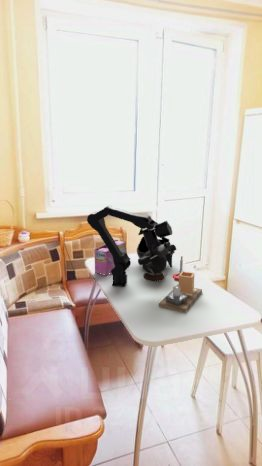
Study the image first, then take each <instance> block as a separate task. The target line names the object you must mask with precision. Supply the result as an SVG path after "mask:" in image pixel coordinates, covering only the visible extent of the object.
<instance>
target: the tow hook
mask: <svg viewBox="0 0 262 466" xmlns="http://www.w3.org/2000/svg"><path fill="white" fill-rule="evenodd" d="M183 257H184V256H180V264H179V265H180V266H179V273H174V274H172V278H173V279H174V281H179V275H180V273H181V272H182V271H183V267H184V265H183V264H184V263H183V261H184V260H183Z"/></svg>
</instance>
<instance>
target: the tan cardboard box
mask: <svg viewBox="0 0 262 466" xmlns="http://www.w3.org/2000/svg"><path fill="white" fill-rule="evenodd" d="M195 274H196V273H195V272H190V271H183V270H182V272H181V273H180V275H178V277H179V280H178V285H179V287H180V292H181V293H188V294H192V292H193V289H194V288H195Z"/></svg>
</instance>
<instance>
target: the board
mask: <svg viewBox="0 0 262 466" xmlns="http://www.w3.org/2000/svg"><path fill="white" fill-rule="evenodd" d="M176 286H179V284H177V285H176ZM202 292H203V289H202V288H201V289H200V288H198V287H197V288H196V287H194V289H193V292H192V294H188V293H185V295H186V296H187V302H185V303H183V304H182V305H180V306H176V305H173V304H171V303H168V302H166V296H168V295H169V294H171V293H173V289H172V290H171V291H170V292H169V293H168V294H166V296H165V297H163V299H162V300H160V301H159V302H158V307H160V308H164V309H169V310H170V311H171V310H173V311H177V312H180V313H184V314H185V313H187V311H188V310H189V309H190V308H191V306H192V305H193V304H194V303H195V301H196V300H197V299H198V298H199V297H200V295H201V294H202ZM180 294H183V293H181V292H180Z"/></svg>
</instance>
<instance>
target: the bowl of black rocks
mask: <svg viewBox="0 0 262 466" xmlns="http://www.w3.org/2000/svg"><path fill="white" fill-rule="evenodd" d="M158 241H160V242H161V244H162V245H163V244H165V243H167V242H168V243H169V244H170V245H171V242H170V239H169V238H168V237H167V238H166V237H163V238H158ZM146 245H147V244H146V241H145V238H144V236H142V237H141V239H140V241H139V243H138V245H137V248H136V255H137V257H138V259H140V258H142V257H143V256H144V254H145V253H146V252H147V251H149V249H148V247H146Z"/></svg>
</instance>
